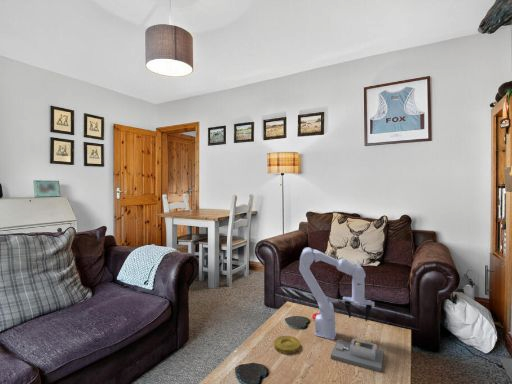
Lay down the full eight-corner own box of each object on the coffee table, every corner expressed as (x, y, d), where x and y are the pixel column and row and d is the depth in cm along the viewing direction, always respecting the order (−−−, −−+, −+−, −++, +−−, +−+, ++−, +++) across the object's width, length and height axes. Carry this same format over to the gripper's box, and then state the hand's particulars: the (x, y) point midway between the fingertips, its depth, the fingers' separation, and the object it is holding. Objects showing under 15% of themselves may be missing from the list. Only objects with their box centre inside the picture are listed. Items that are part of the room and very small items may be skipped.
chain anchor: (335, 349, 127) (335, 347, 127) (337, 345, 131) (337, 342, 131) (347, 352, 125) (347, 350, 125) (349, 347, 128) (349, 345, 128)
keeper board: (330, 358, 123) (330, 345, 123) (337, 342, 136) (337, 330, 136) (381, 372, 114) (381, 358, 114) (383, 353, 126) (383, 341, 126)
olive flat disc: (305, 351, 129) (305, 346, 129) (281, 357, 125) (281, 352, 125) (292, 338, 140) (292, 333, 140) (270, 343, 136) (270, 338, 136)
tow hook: (312, 314, 166) (312, 321, 157) (312, 292, 166) (312, 297, 157) (326, 315, 165) (328, 322, 156) (327, 293, 165) (328, 298, 156)
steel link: (350, 354, 123) (350, 345, 123) (352, 347, 129) (352, 338, 129) (375, 361, 119) (375, 351, 119) (376, 353, 124) (376, 344, 124)
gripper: (341, 291, 139) (341, 318, 140) (373, 296, 133) (373, 325, 133) (344, 286, 146) (344, 312, 146) (374, 291, 139) (374, 318, 139)
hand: (358, 318), depth 140 cm, fingers open, 7 cm apart
